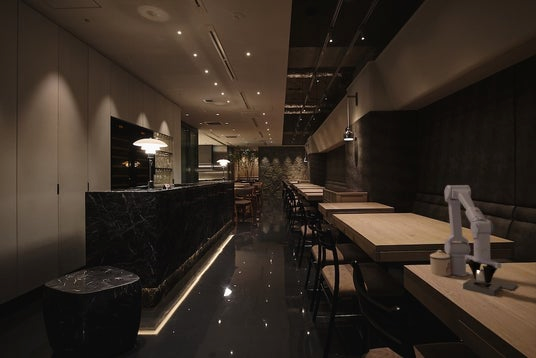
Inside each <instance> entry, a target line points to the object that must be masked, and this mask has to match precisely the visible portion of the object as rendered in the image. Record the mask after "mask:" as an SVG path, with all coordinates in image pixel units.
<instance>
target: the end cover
mask: <svg viewBox="0 0 536 358" xmlns="http://www.w3.org/2000/svg"><path fill="white" fill-rule="evenodd" d="M476 285H479V286H484V287H489V283H486V281H485V272H484V269H483V268H480V269H476Z"/></svg>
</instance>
